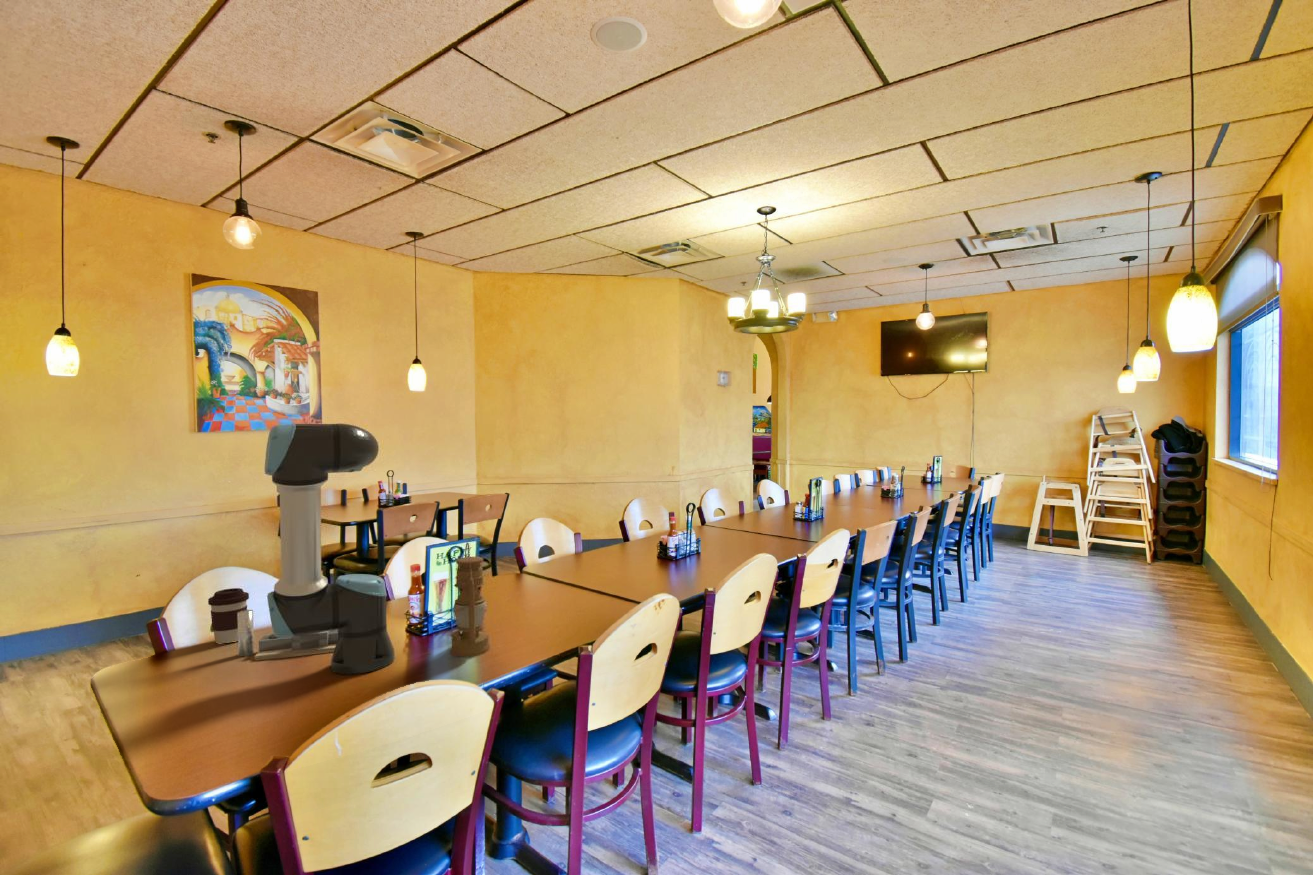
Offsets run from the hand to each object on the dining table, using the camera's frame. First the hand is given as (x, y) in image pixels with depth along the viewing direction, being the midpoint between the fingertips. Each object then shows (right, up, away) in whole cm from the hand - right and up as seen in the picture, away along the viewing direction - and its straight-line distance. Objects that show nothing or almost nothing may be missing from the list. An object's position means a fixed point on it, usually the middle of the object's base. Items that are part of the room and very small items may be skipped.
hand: (293, 562), depth 184 cm
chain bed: (+12, -22, -11) cm, 27 cm away
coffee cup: (-17, -23, -3) cm, 29 cm away
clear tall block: (-4, -23, -15) cm, 27 cm away
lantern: (+58, -21, -15) cm, 64 cm away
